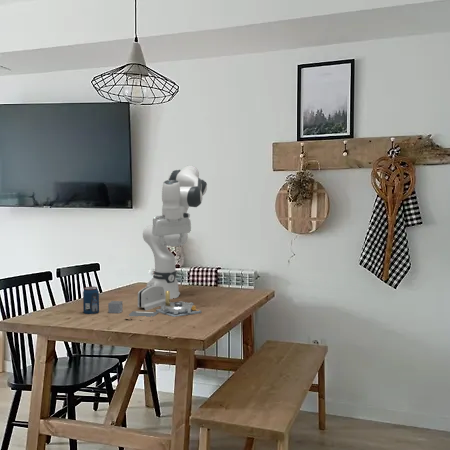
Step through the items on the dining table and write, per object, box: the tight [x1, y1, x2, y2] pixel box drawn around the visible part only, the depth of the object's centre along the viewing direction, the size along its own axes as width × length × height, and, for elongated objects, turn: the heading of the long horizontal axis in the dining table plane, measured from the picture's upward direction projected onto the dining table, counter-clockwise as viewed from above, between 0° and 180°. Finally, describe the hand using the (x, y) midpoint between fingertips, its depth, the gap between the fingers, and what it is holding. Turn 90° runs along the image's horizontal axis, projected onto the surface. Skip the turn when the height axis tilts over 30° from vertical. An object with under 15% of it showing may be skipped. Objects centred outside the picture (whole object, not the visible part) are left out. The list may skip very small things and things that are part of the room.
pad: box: [128, 310, 159, 318], centre depth 230 cm, size 12×12×1 cm
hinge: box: [137, 286, 165, 312], centre depth 248 cm, size 17×5×10 cm, turn 147°
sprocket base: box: [155, 308, 202, 318], centre depth 237 cm, size 15×15×1 cm
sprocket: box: [160, 291, 197, 314], centre depth 237 cm, size 16×16×8 cm
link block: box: [107, 300, 124, 314], centre depth 236 cm, size 5×5×5 cm
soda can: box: [82, 286, 100, 315], centre depth 234 cm, size 7×7×12 cm
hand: (172, 243), depth 244 cm, fingers open, 8 cm apart
